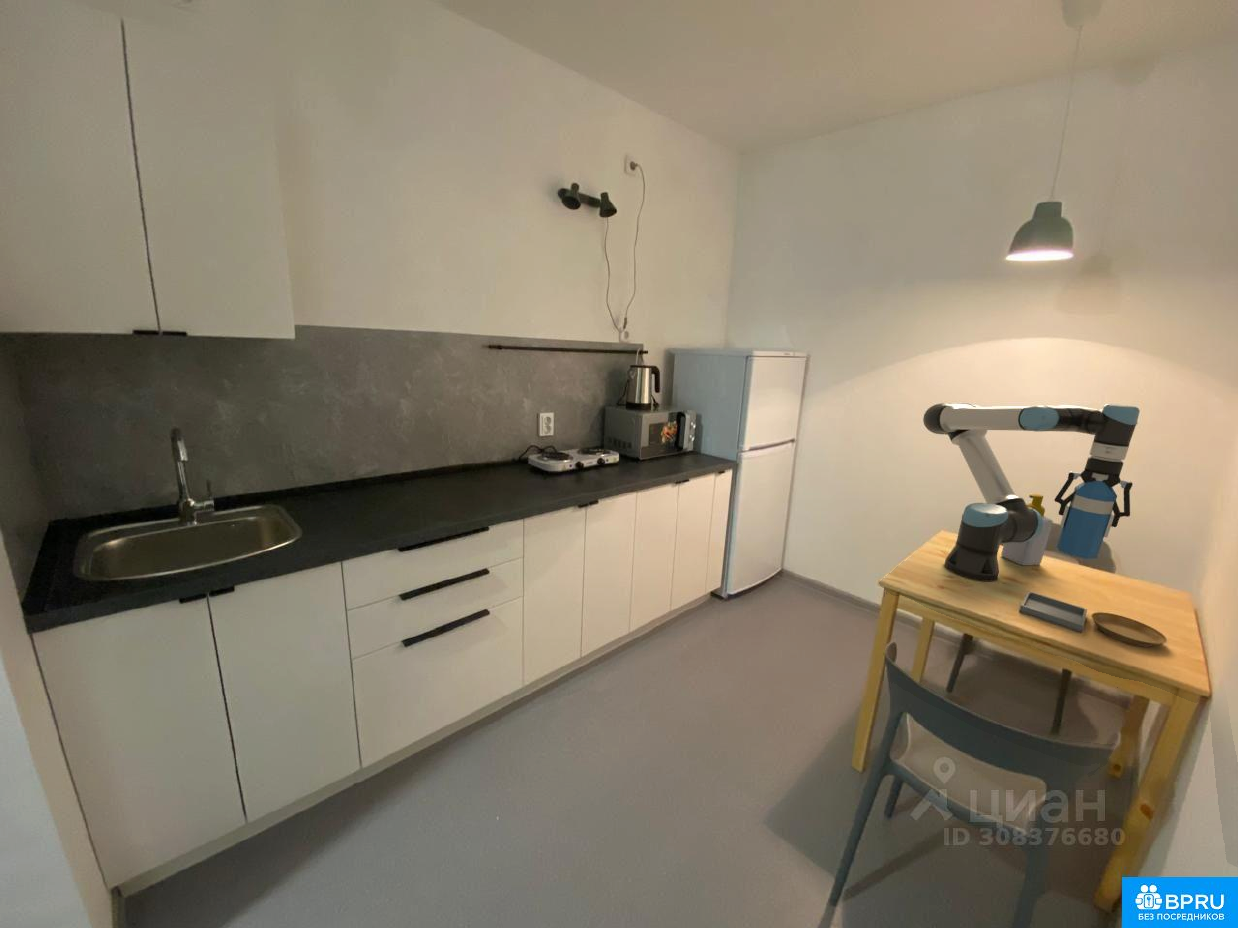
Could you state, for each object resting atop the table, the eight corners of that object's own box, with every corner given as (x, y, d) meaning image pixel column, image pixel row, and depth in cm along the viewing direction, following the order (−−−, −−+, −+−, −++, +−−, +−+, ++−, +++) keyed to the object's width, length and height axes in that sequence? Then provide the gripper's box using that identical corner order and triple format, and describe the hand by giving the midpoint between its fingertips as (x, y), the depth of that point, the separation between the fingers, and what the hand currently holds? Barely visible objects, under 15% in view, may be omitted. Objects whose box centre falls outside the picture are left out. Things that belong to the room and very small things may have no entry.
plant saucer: (1125, 621, 143) (1128, 613, 142) (1180, 653, 128) (1184, 644, 128) (1074, 618, 143) (1077, 610, 142) (1123, 650, 129) (1126, 641, 128)
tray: (1018, 611, 144) (1020, 605, 144) (1026, 597, 153) (1028, 590, 153) (1081, 633, 135) (1083, 626, 134) (1085, 616, 144) (1087, 609, 143)
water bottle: (1105, 561, 145) (1132, 479, 139) (1069, 556, 147) (1094, 475, 140) (1083, 548, 154) (1107, 471, 148) (1049, 544, 156) (1072, 467, 149)
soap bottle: (998, 555, 184) (1016, 491, 178) (1017, 554, 186) (1035, 491, 180) (1022, 566, 176) (1042, 499, 169) (1042, 565, 178) (1061, 499, 172)
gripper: (1055, 452, 148) (1035, 522, 154) (1161, 468, 133) (1134, 546, 139) (1058, 449, 153) (1038, 517, 159) (1160, 464, 138) (1134, 539, 144)
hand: (1083, 530), depth 149 cm, fingers closed on water bottle, 9 cm apart
